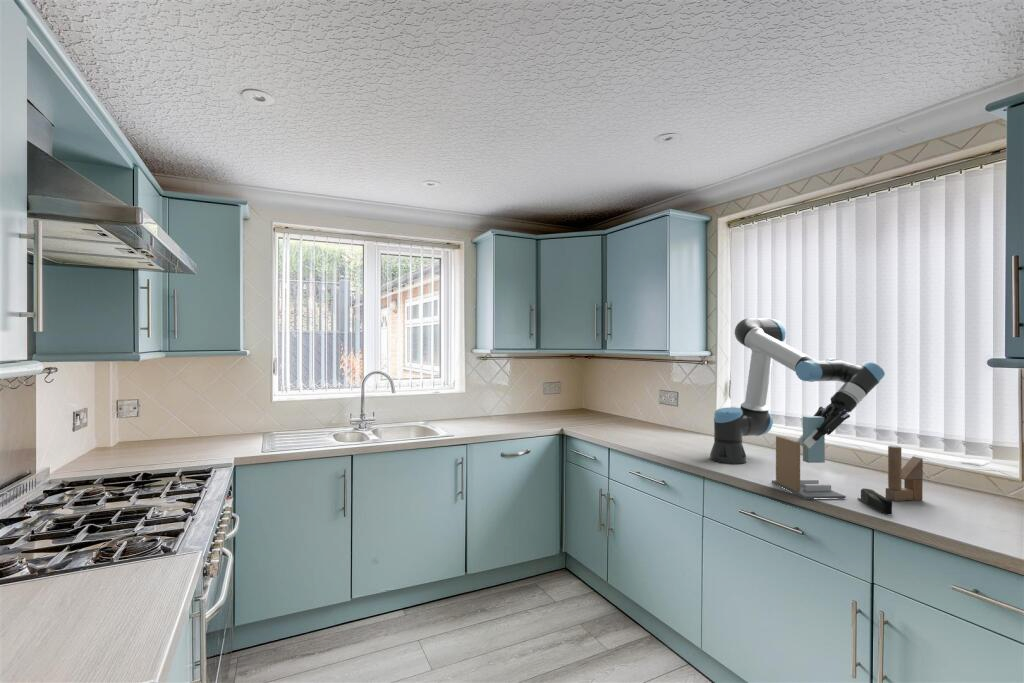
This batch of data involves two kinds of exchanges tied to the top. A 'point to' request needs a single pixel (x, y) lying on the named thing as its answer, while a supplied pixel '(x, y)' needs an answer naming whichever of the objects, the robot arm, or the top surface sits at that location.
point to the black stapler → (876, 501)
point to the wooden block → (904, 477)
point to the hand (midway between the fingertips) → (803, 444)
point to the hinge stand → (797, 473)
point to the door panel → (818, 449)
